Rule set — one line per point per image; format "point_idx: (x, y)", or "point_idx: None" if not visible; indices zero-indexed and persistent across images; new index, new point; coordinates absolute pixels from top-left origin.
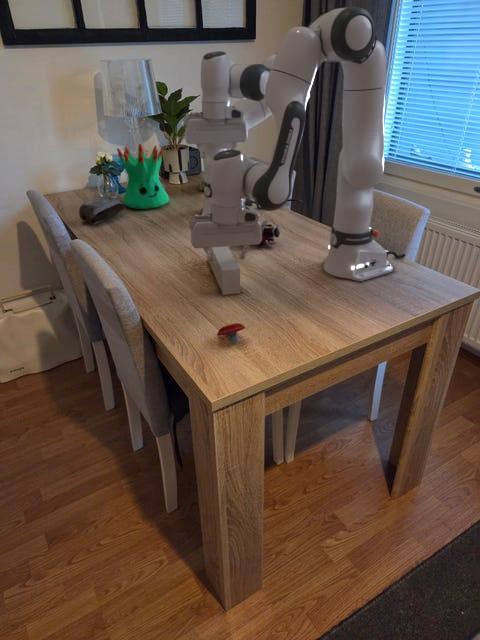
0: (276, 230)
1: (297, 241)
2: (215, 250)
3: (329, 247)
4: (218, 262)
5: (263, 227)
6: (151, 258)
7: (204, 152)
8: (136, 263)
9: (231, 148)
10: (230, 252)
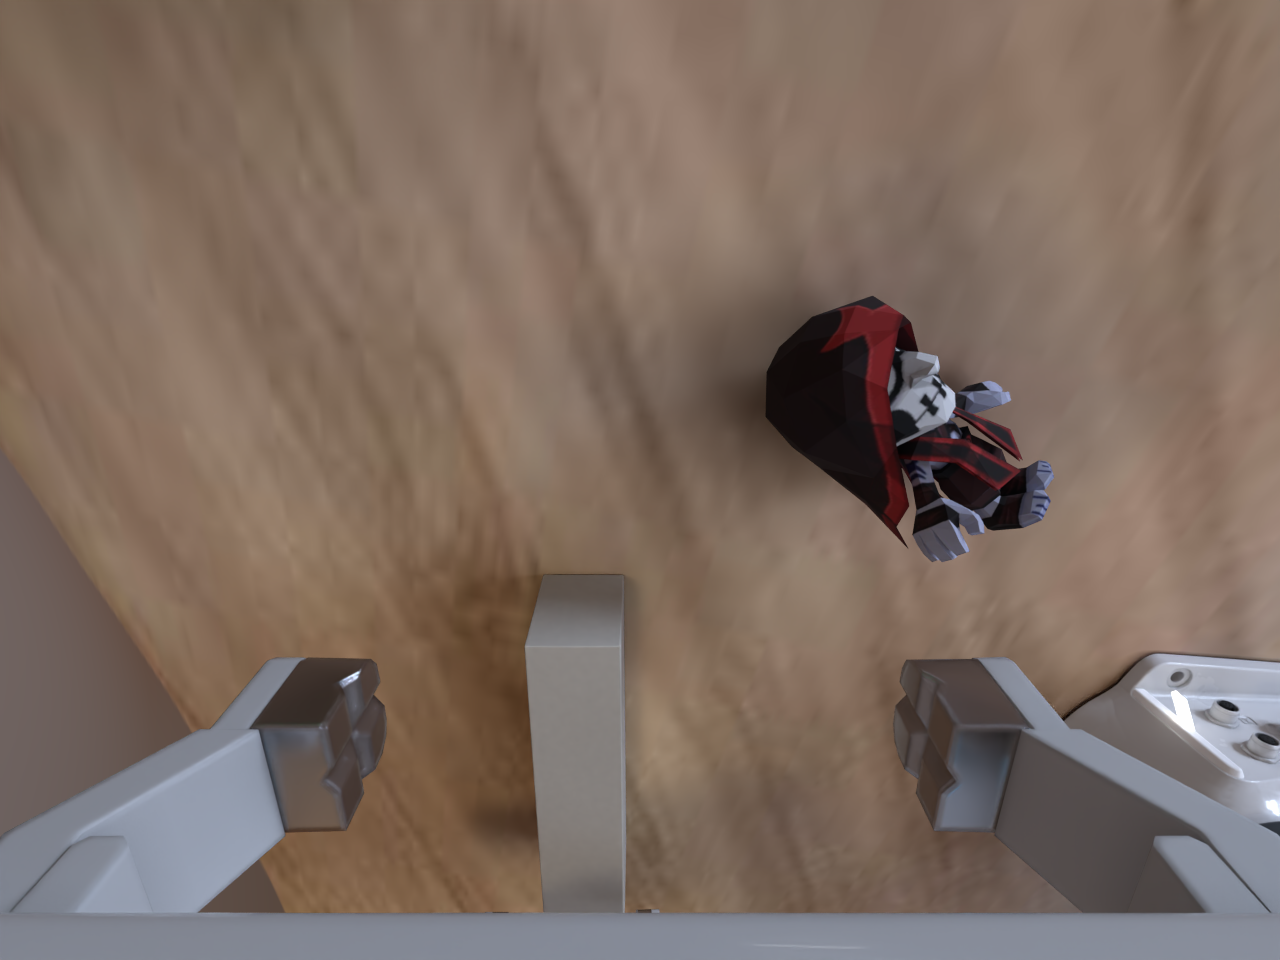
0: (1004, 526)
1: (1130, 408)
2: (545, 775)
3: (1177, 703)
4: (541, 880)
5: (921, 548)
6: (231, 466)
7: (326, 804)
8: (159, 512)
9: (1075, 769)
10: (617, 808)
